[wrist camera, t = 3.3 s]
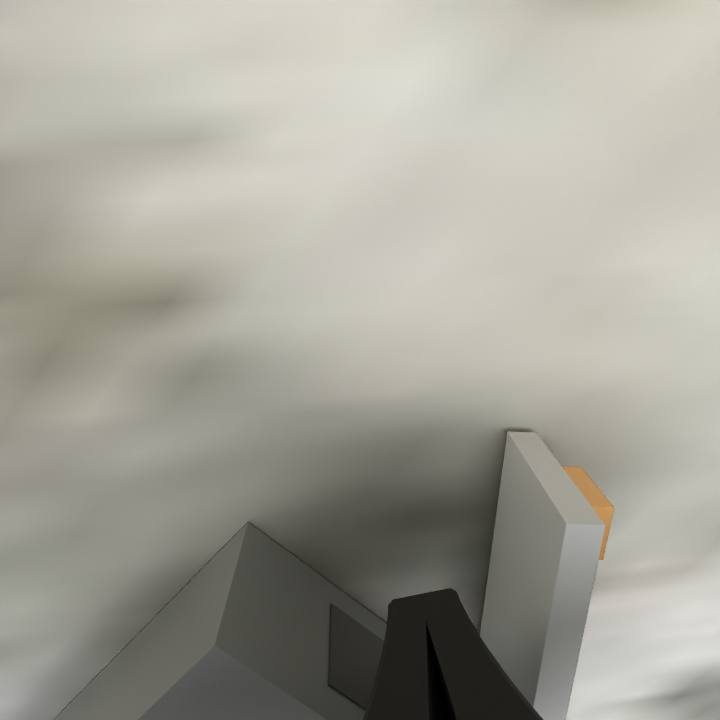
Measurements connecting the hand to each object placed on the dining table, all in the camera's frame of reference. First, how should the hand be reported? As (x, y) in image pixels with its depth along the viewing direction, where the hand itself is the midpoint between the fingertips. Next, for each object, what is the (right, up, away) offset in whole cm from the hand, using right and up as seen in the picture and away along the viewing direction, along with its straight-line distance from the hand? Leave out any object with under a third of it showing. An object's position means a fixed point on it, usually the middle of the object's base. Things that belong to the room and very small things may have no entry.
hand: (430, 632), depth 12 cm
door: (+2, 0, +3) cm, 4 cm away
